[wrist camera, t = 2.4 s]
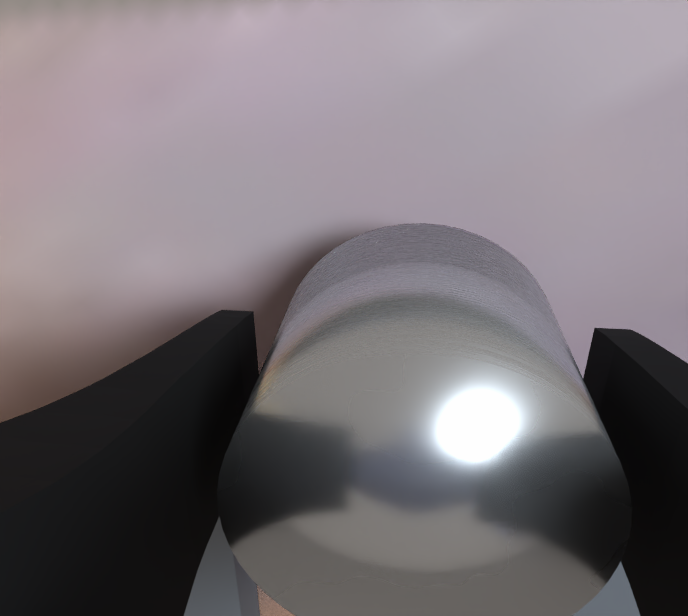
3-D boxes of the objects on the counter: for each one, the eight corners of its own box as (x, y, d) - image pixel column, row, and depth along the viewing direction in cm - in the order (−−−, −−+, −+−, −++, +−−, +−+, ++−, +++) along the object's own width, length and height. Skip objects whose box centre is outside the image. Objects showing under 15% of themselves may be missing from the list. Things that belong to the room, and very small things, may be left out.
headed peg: (557, 198, 11) (683, 369, 6) (521, 414, 14) (587, 671, 8) (294, 191, 12) (193, 341, 6) (303, 400, 14) (236, 634, 9)
